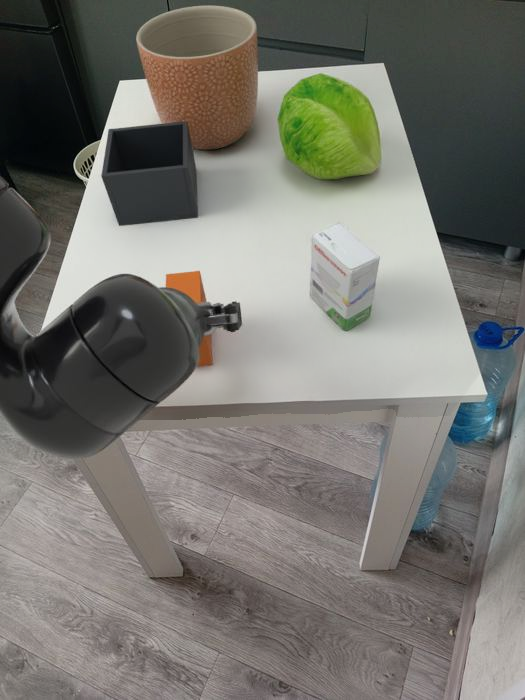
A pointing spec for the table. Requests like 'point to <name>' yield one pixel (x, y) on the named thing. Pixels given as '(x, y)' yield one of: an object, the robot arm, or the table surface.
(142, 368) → the robot arm
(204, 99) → the planter
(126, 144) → the dark grey open box
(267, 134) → the table surface
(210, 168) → the table surface
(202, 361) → the block
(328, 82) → the lettuce
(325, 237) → the ink box
